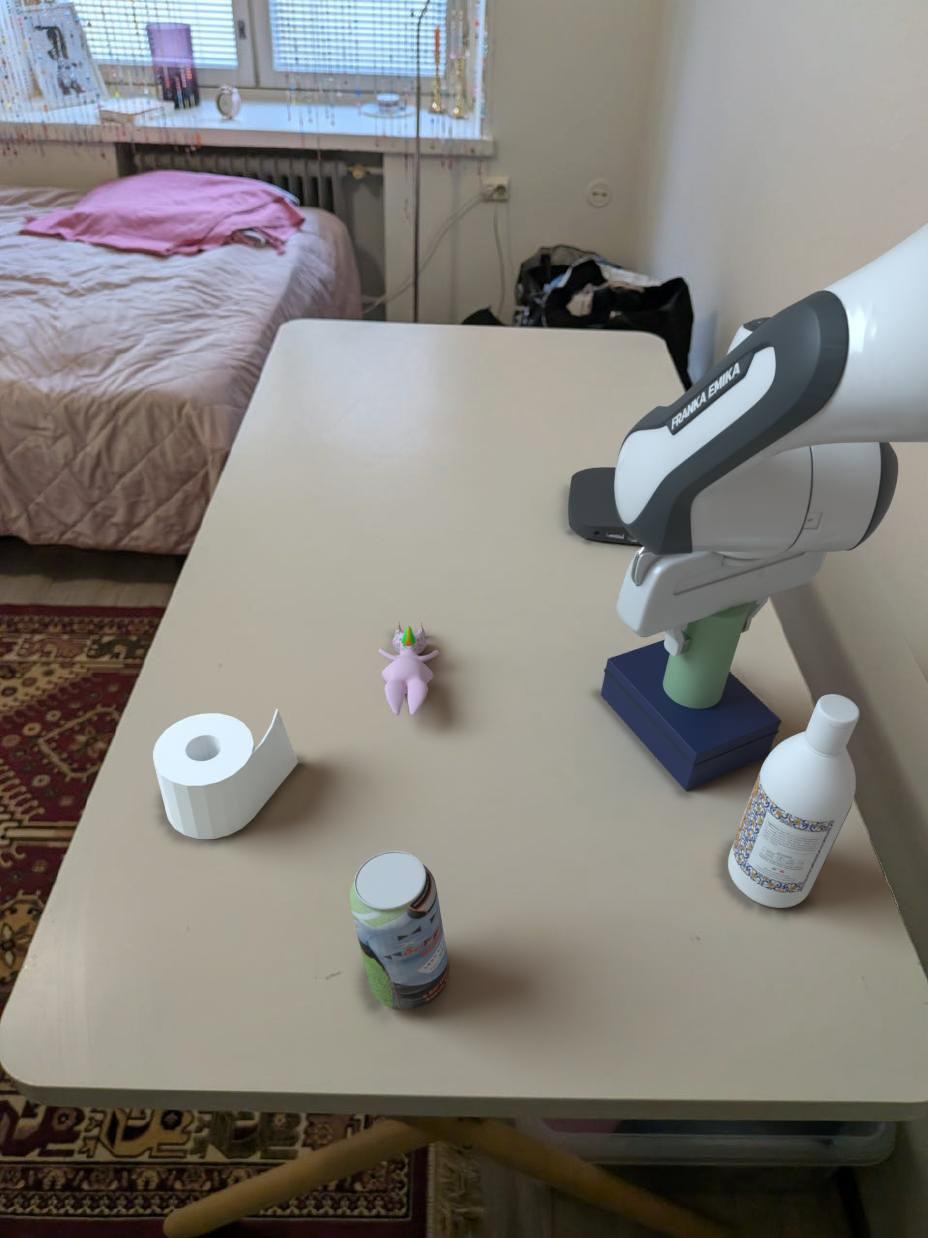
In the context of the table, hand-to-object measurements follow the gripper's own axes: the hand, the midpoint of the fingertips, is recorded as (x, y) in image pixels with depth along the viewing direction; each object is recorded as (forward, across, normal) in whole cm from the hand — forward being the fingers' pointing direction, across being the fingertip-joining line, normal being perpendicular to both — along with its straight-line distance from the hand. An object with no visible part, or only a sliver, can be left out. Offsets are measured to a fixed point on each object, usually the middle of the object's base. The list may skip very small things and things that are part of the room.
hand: (706, 639), depth 85 cm
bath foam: (+11, -4, -17) cm, 21 cm away
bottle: (+6, 0, 0) cm, 6 cm away
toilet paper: (+11, -42, +10) cm, 45 cm away
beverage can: (+11, -36, -12) cm, 40 cm away
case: (+11, 0, 0) cm, 11 cm away
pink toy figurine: (+11, -22, +17) cm, 30 cm away
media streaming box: (+11, +17, +34) cm, 40 cm away
